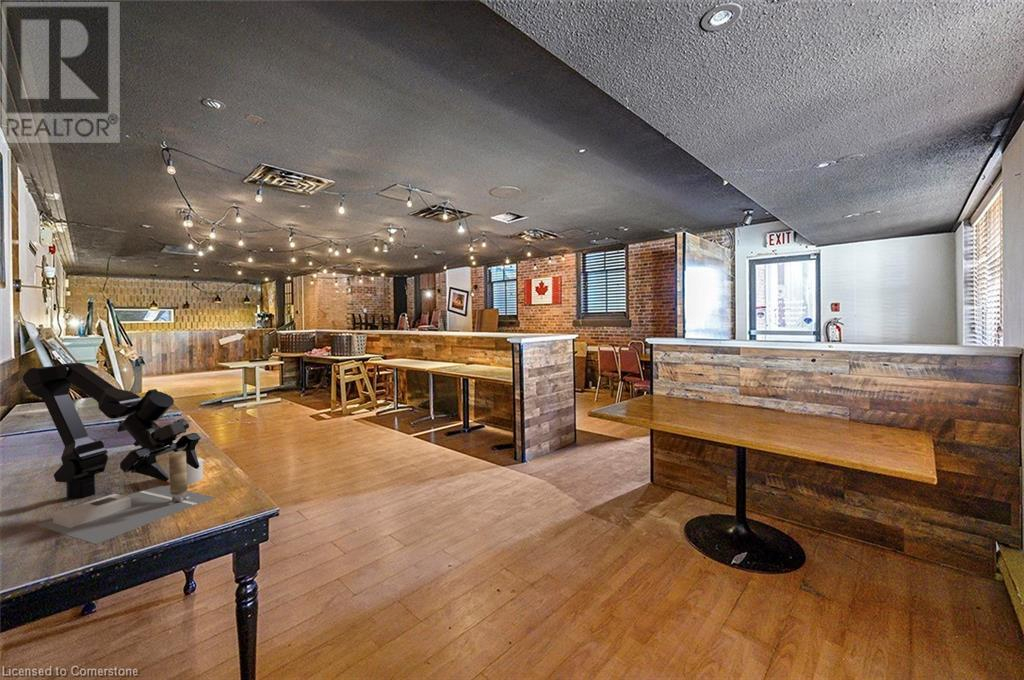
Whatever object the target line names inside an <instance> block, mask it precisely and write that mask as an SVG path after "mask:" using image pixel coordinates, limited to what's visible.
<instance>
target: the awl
mask: <svg viewBox="0 0 1024 680" xmlns="http://www.w3.org/2000/svg"><path fill="white" fill-rule="evenodd" d="M168 463H169V469H170V482H169V487H170V493H171V494H172V502H173V503H177V502H182V501H184V500H186V491H188V485H187V466H186V452H185V451H179V452H174V451H173V452H171V453H170V452H169V454H168Z"/></svg>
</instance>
